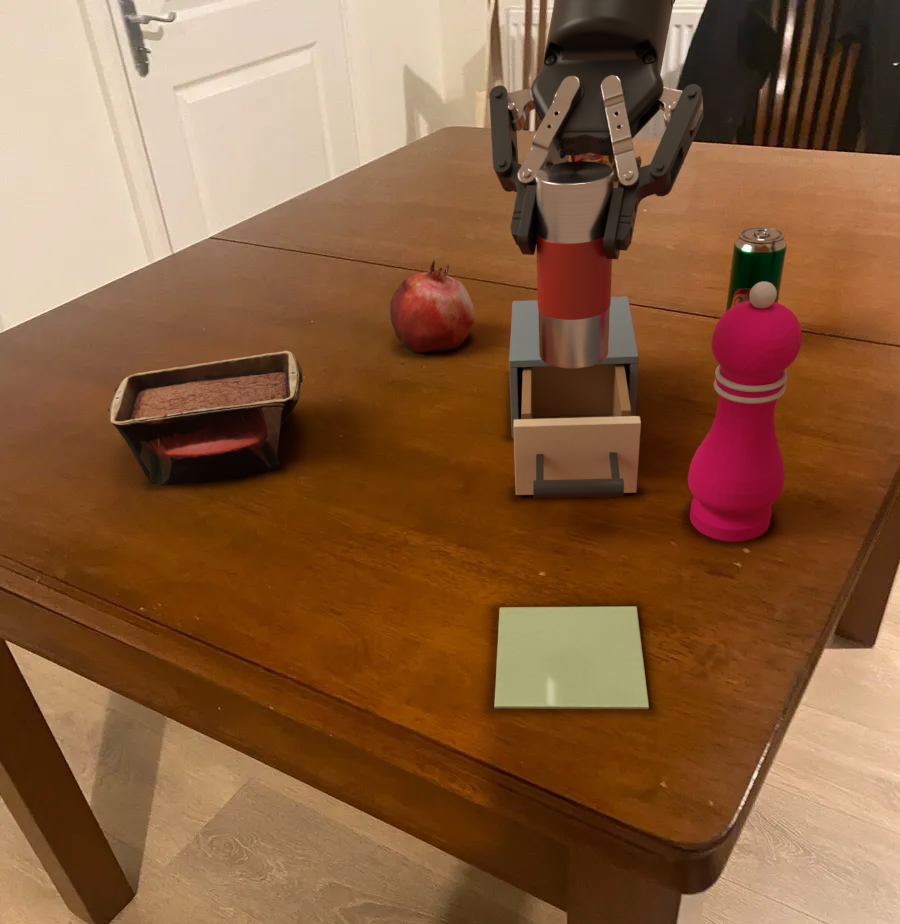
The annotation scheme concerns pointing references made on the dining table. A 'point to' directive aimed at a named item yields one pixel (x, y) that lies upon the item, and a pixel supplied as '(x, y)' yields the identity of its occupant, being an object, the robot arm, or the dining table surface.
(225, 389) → the baking dish
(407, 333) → the fruit
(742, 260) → the soda can
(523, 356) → the cabinet
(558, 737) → the dining table surface
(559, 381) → the drawer
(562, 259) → the tin
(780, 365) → the pepper mill
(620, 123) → the robot arm
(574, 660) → the tile
